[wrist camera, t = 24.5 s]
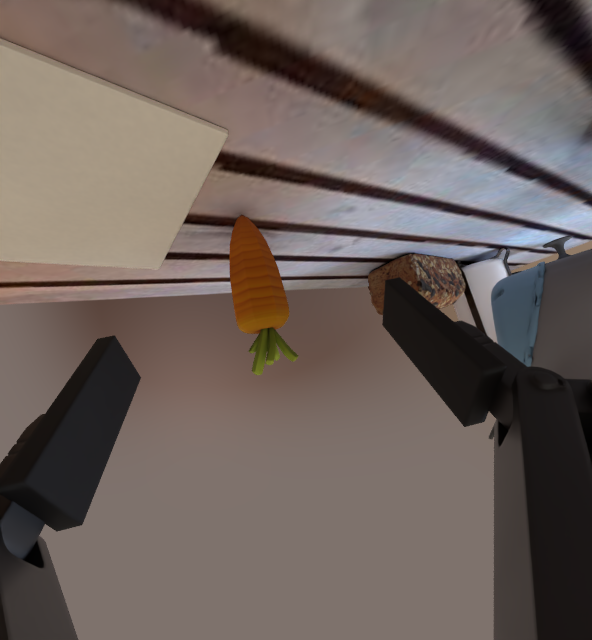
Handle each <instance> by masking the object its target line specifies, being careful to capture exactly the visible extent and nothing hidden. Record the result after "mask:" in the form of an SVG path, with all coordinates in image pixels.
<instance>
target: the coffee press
mask: <svg viewBox="0 0 592 640" xmlns="http://www.w3.org/2000/svg"><path fill="white" fill-rule="evenodd" d="M504 249H506V254H505V257H504V260H503V259H499V258H497V257H499V255H500V254H501V252H502V251H503V250H504ZM509 253H510V250H509V249H508V248H501V249H500V250H499V251H498V253H497V255H496V256H495V257H493V258H491V259H488V260H483V261H480V262H477V263H473V264H471V265H468V266H464V265H463V264H462V263H461V262H460V261H459V260H458V261H456V264H457V266H458V267H459V269H460V271H461V276H462V278H463V279H464V282H465V291H464V293H463V295H461V296H460V297H459V298H458V299H457V301H456V302H455V303H454V304H453V305H454V308H455V311H456V313H457V316H458V319H459V321H461V320H462V321H464V322H466V323H469V324H471V325H473V326H475V327H477V328H478V329H479V330H480V331H482V332H483V333H484V334H485V336H488V337H490V338H491V339H492V340H493V342H496V343H497V344H498V342H497V337H496V332H495V326H494V320H493V313H492V306H491V292H492V289H493V287H494V286H495V284H496V283H497V282H499V281H500V280H501V279H503V278H505V277H508V276H511V275H513V274H516V273H519V272H515V273H511V271H510V269H509V266H508V263H507V259H508V256H509ZM520 272H522V271H520Z"/></svg>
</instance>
